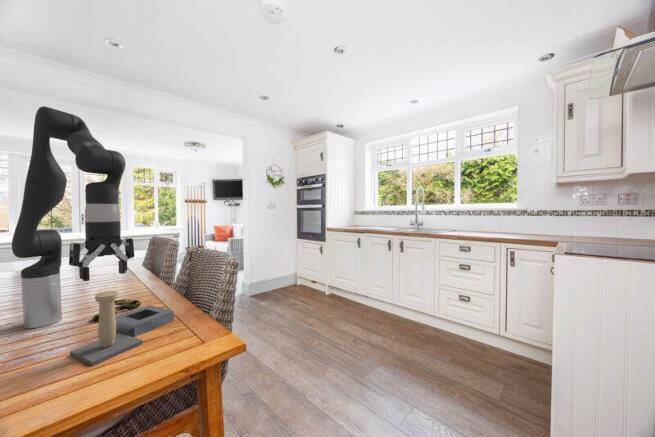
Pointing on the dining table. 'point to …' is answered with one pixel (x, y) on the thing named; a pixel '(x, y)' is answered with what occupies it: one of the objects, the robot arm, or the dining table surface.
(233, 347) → the dining table surface
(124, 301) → the toy snake
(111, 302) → the handle
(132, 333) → the holder
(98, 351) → the mat
